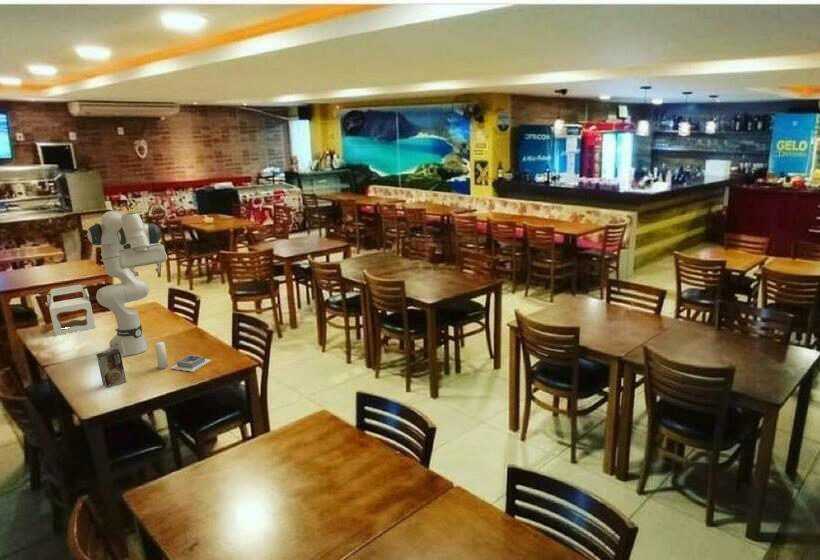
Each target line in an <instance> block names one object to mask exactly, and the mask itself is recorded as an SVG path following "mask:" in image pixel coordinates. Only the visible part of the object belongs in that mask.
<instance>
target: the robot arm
mask: <svg viewBox="0 0 820 560" xmlns="http://www.w3.org/2000/svg"><path fill="white" fill-rule="evenodd" d="M161 232H162V231H161V229H160V227H159V226H158V225H156V224H155V223H153V222H150V223H148V222H145V221H144V220H142V218H141V215H140V214H139V213H137V212H128V213H124V214H123V213H120V212H118V211H115V210H114V211H113V210H109V211H107V212H104V213H103V214H102V216H101V222H100V223H97V222H95V223H94V224H93V225H91V226H89V228H88V229H87V234H86V235H87V239H88V241H89V242H90V243H91V244H92V245H94V246H100V252H101V258H102V262H103V267H104V271H105V273H106V275H107V276H109V277H112V278H116V279H118V280H120V283H115V284H110V285H105V286H103V287H100V288H99V289H97V292H96V294H95V295H96V296H95V298H96V301H97V303H98V304H99V305H100V306H102V307H105V308H107V309H109V310H110V311H111V312H112V313H113V315H114V317H115V320H116V323H117V325H116V326H117V328H115V329H114V331H115V332H116V334H115V336H114V337H112V339H111V340H110V341H109V348H107V349H106V350H105V351H109V350H112V349H117V350H119V351H120V353H121V358H122V357H126V356H135V355H138V354H141V353H143V352H145V351H147V350H148V349H149V346H148V345H149V344H148V342H147V341H146V338H145V337H146V336H145V334H144V331H143V325H142V324H141V321H140V316H139V315H140V314H139V312H138V310H136V309H134V308H132V307H128V306H127V307H126V306H125V304H126V303H131V302H136V301H140V300H142V299H144V298H147V297H148V295H149V292H150V288H149V285H148V284H147V282H145V281H144V280H142V279H139V276H140V274H139V271H135V268H139V267H144V266H149V265H154V264H155V265H156V267H157V268H155V272H156V273H161V268H160V267H161V264H162V263H166V262H167V260H168V255H167V253H166V251H165V246H164V244H162V243H160V241H161V239H162V233H161Z"/></svg>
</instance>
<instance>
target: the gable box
mask: <svg viewBox="0 0 820 560" xmlns="http://www.w3.org/2000/svg"><path fill="white" fill-rule="evenodd" d="M73 293H82V297H77V298H72V299H71V298H70V299H64V300H59V301H54V297H56V296H63V295H68V294H73ZM46 300H47V304H48V310H49V315H50V320H51V322H52V323H51V324H52V327H53V331H54V337H58V336H57V335H60V336H62V335H61V334H65V335H67V334H66V333H70V334H73V333H72V332H75V333H78V332H77V331H80V332H84V330H85V331H89V329H90V330H93V329H96V324H95V319H94V317H95V316H94V313H93V309H92V304H91V301H90V294H89V291H88V288H87V287H85V288H84V287H83V285H82V284H80V283H79V284H73V285H68V286H61V287H60V286H59V287H55V288H51V289H50V294H46ZM79 310H84V315H85V319H82V320H80V319H79V320H78V319H75V320H73V319H72V320H71V321H68V322H65V323H61V318H60V316H59V315H58V314H60V313H65V312H74V311H79ZM65 327H70V328H68V329H61V328H65Z"/></svg>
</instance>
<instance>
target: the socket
mask: <svg viewBox="0 0 820 560" xmlns="http://www.w3.org/2000/svg"><path fill="white" fill-rule="evenodd" d="M211 361H212V362H213V360H212V359H206V358H205V356H202V355H197V354H195V355H194V354H188V355H187V356H185V357H183V358H181V359H179V360H178V361H176V364H174V365H173V366H171V367H170V370H172V369H175V370H174V371H179V370H183V371H182V372H185V371H190V372H189V373H192V372H193V373H195V372H196V371H195V370H197V369H198V370H200V369H202V368H203V367H202V366H204V365H205V366H207V365H209V364H210V363H212V362H211ZM209 362H210V363H209ZM208 363H209V364H208ZM206 364H207V365H206ZM205 366H204V367H205ZM201 367H202V368H201ZM199 368H200V369H199ZM198 370H197V371H198ZM194 371H195V372H194Z"/></svg>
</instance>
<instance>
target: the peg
mask: <svg viewBox="0 0 820 560" xmlns="http://www.w3.org/2000/svg"><path fill="white" fill-rule="evenodd" d="M165 345H166V343H165V342H164V341H158V342H156V343H154V350H155V351H154V352H155V356H156V360H157V367H158V368H157V369H159V368H160V369H159V370H164V369H163V368H165V369H167V368H169V362H168V357H167V350H166V346H165ZM166 367H167V368H166Z"/></svg>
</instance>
